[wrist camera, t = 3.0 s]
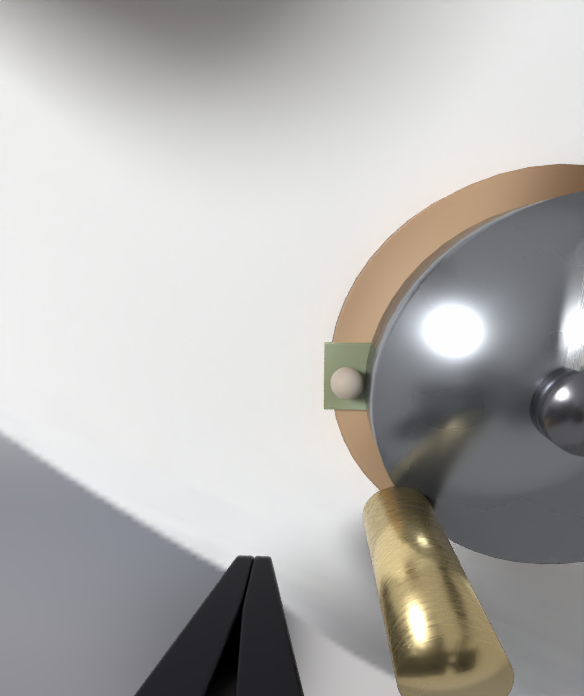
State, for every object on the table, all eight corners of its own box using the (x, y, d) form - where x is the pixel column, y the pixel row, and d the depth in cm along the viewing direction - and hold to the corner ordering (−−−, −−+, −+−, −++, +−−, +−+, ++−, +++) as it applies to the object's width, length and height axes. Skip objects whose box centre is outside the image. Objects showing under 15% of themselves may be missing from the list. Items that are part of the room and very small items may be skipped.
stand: (758, 166, 8) (881, 140, 7) (648, 521, 11) (714, 571, 9) (325, 178, 9) (329, 157, 7) (321, 511, 12) (323, 557, 10)
